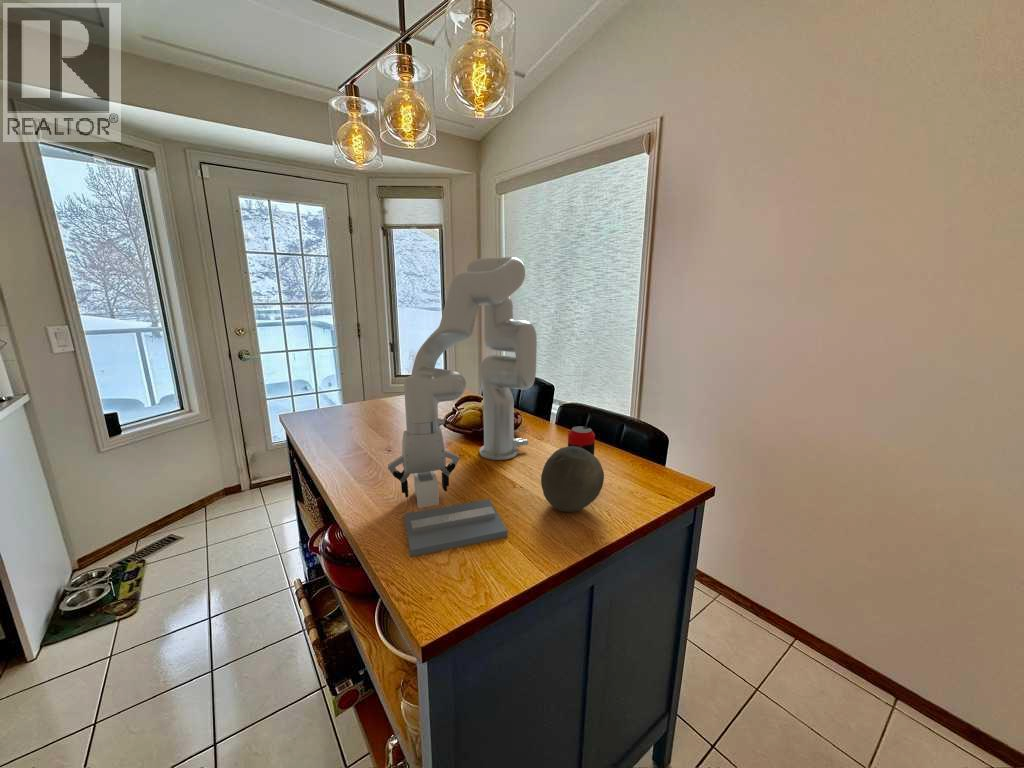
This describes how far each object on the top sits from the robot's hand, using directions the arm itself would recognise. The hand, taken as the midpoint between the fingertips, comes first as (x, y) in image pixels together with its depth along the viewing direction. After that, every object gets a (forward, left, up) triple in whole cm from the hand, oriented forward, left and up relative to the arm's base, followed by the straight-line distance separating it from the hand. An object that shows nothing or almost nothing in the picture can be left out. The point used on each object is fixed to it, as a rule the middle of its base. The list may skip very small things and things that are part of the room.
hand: (425, 491), depth 100 cm
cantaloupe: (-32, +16, -2) cm, 36 cm away
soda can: (-45, -3, -2) cm, 45 cm away
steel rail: (-4, +15, 0) cm, 15 cm away
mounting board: (-4, +15, -2) cm, 16 cm away
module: (0, 0, -2) cm, 2 cm away
